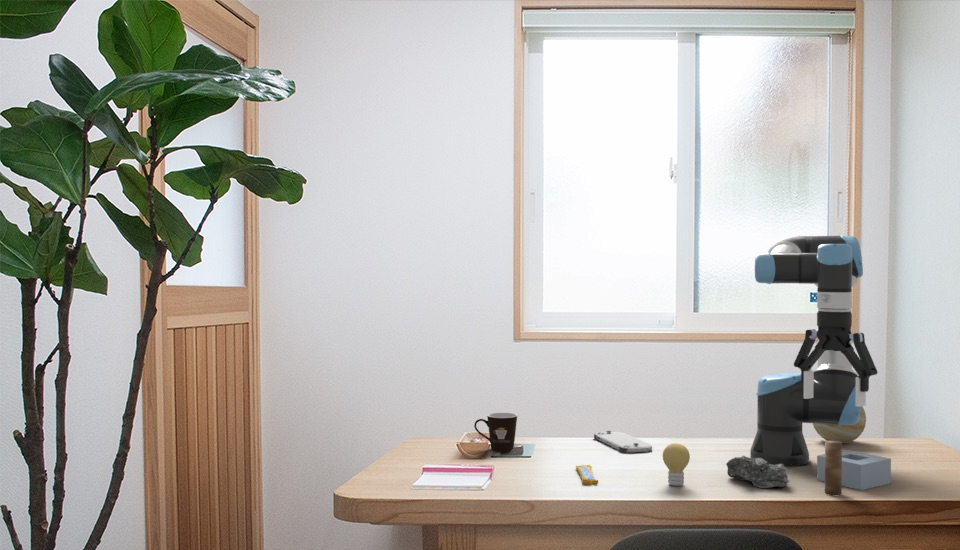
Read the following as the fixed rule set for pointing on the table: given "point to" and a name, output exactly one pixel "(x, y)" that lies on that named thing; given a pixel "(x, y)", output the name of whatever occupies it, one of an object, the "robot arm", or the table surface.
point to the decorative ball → (842, 430)
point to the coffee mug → (500, 431)
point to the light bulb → (676, 462)
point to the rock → (757, 472)
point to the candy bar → (586, 474)
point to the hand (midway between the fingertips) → (833, 402)
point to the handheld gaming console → (623, 442)
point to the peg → (833, 467)
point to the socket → (859, 470)
